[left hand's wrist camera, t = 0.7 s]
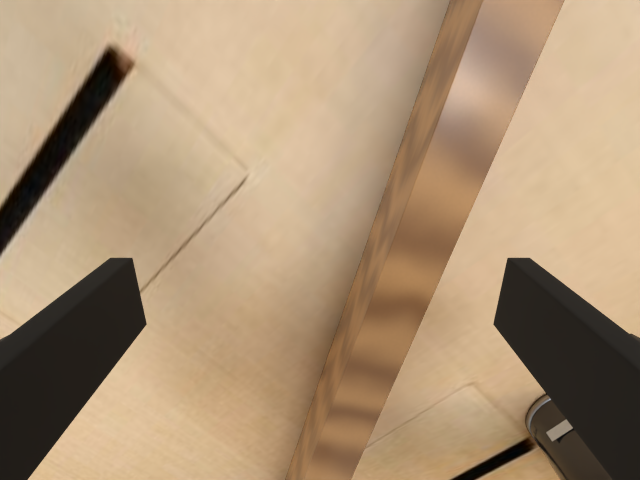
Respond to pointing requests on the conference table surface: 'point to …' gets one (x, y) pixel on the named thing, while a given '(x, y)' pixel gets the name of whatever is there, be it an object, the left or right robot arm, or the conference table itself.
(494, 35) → the beam
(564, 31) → the conference table surface
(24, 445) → the left robot arm
